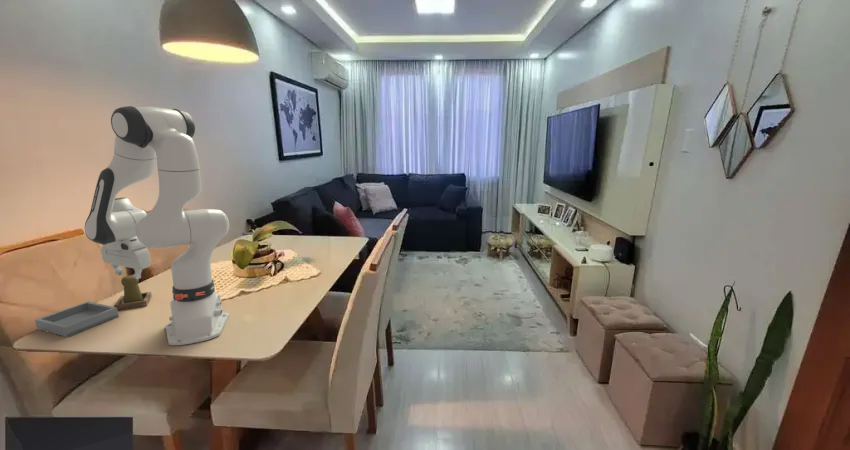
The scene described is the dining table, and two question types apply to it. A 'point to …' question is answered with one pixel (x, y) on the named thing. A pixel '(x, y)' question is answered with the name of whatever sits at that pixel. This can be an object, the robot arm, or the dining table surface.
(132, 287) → the olive tapered knobbed cylinder
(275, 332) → the dining table surface
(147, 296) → the holder collar
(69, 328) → the tray
